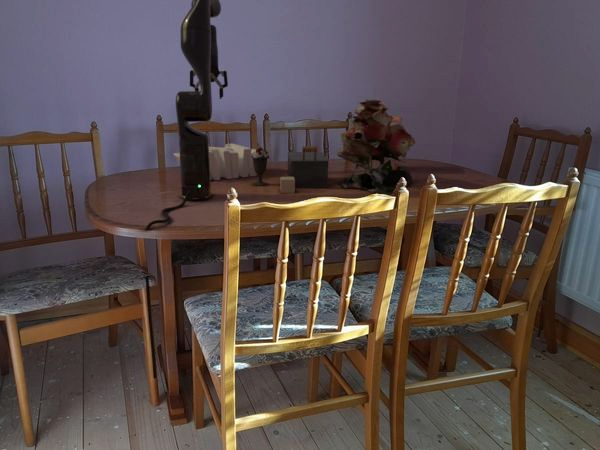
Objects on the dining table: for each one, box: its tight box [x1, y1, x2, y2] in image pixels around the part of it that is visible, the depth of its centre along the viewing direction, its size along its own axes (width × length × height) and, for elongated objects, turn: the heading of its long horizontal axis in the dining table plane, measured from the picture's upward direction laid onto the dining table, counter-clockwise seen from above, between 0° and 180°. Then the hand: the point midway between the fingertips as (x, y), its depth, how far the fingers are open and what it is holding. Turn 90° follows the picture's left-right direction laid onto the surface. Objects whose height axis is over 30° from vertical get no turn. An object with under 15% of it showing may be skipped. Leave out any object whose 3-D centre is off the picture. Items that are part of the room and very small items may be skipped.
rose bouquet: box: [336, 98, 416, 195], centre depth 190 cm, size 26×29×30 cm
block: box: [279, 176, 296, 194], centre depth 181 cm, size 5×5×5 cm
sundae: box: [251, 142, 270, 187], centre depth 190 cm, size 7×7×15 cm
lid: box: [287, 145, 329, 164], centre depth 191 cm, size 18×13×5 cm
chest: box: [287, 155, 329, 189], centre depth 194 cm, size 17×13×9 cm
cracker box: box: [384, 116, 403, 170], centre depth 217 cm, size 14×6×21 cm, turn 165°
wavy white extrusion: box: [173, 143, 259, 182], centre depth 205 cm, size 35×16×11 cm, turn 119°
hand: (209, 98), depth 206 cm, fingers open, 8 cm apart
